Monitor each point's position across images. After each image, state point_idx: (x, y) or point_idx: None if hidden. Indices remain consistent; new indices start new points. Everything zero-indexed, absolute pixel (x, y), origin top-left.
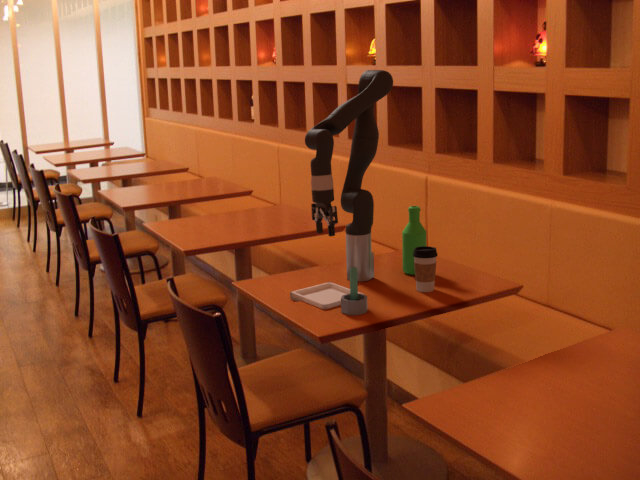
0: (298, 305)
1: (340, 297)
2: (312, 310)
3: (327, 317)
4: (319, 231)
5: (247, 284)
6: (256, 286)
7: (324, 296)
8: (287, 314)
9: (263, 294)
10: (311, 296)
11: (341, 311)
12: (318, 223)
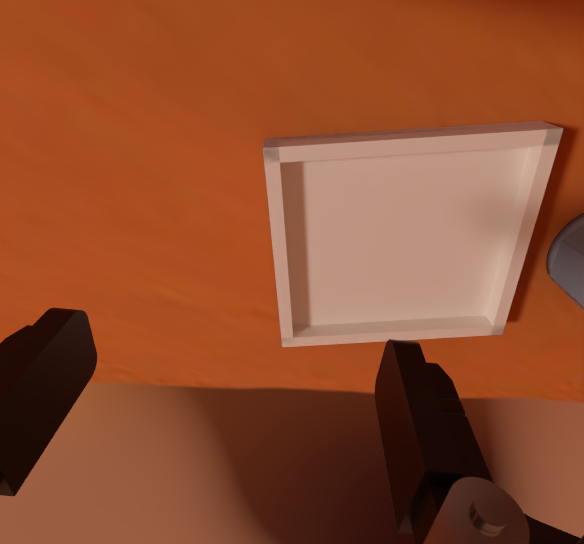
0: None
1: (443, 205)
2: None
3: (531, 329)
4: (82, 359)
5: None
6: None
7: (380, 248)
8: None
9: (177, 365)
10: (341, 285)
11: (571, 298)
12: (10, 468)
